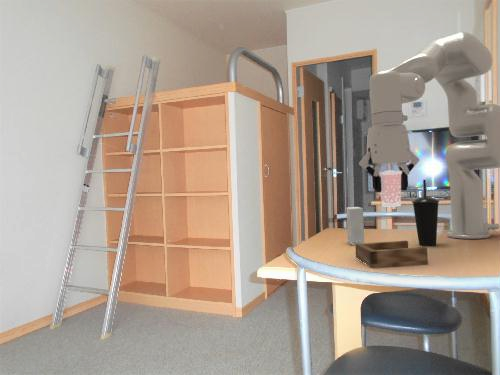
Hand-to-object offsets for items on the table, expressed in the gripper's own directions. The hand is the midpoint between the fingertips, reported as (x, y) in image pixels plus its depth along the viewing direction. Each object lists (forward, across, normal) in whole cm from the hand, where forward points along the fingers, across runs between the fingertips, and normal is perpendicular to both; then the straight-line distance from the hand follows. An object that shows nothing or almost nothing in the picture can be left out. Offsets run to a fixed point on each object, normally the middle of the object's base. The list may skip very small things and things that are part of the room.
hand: (390, 190), depth 101 cm
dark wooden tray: (+18, +1, 0) cm, 18 cm away
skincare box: (+19, +1, -28) cm, 34 cm away
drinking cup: (+19, -18, -18) cm, 31 cm away
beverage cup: (+4, 0, 0) cm, 4 cm away
